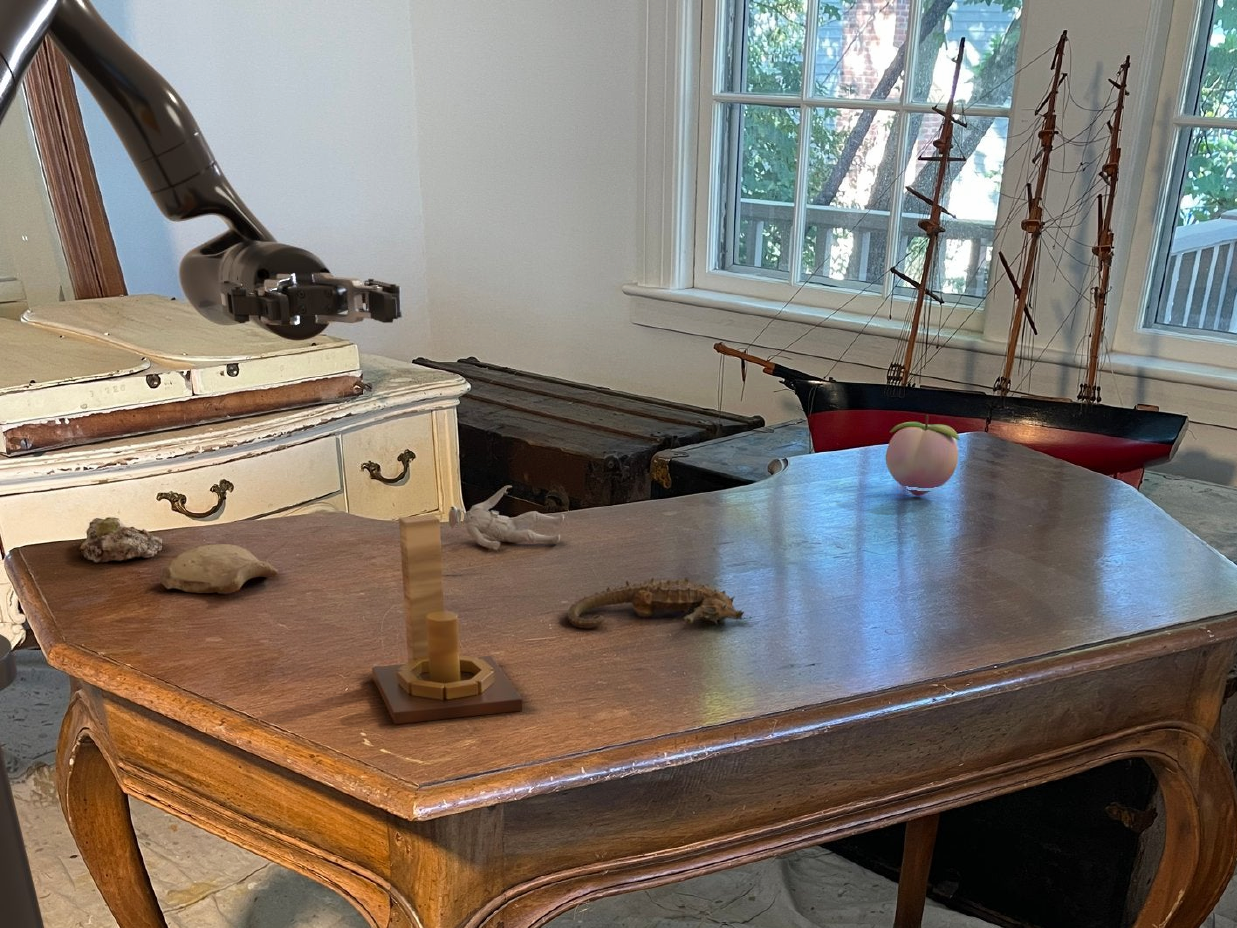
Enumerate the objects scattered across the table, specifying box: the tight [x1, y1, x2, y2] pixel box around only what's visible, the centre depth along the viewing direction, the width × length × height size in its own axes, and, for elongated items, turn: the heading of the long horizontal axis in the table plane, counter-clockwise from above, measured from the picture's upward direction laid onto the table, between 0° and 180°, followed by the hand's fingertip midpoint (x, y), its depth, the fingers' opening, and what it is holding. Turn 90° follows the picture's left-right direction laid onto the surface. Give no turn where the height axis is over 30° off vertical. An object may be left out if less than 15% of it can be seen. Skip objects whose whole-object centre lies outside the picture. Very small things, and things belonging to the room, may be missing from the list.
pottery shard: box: [158, 543, 279, 594], centre depth 126 cm, size 11×4×10 cm
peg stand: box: [371, 610, 523, 725], centre depth 102 cm, size 10×10×6 cm
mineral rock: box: [78, 516, 163, 563], centre depth 134 cm, size 11×4×8 cm
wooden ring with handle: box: [397, 514, 494, 700], centre depth 101 cm, size 9×7×12 cm
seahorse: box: [567, 576, 745, 629], centre depth 121 cm, size 9×16×3 cm, turn 86°
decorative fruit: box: [885, 414, 961, 497], centre depth 165 cm, size 9×8×10 cm
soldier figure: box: [448, 485, 565, 551], centre depth 142 cm, size 8×5×12 cm
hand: (338, 310), depth 104 cm, fingers open, 8 cm apart
